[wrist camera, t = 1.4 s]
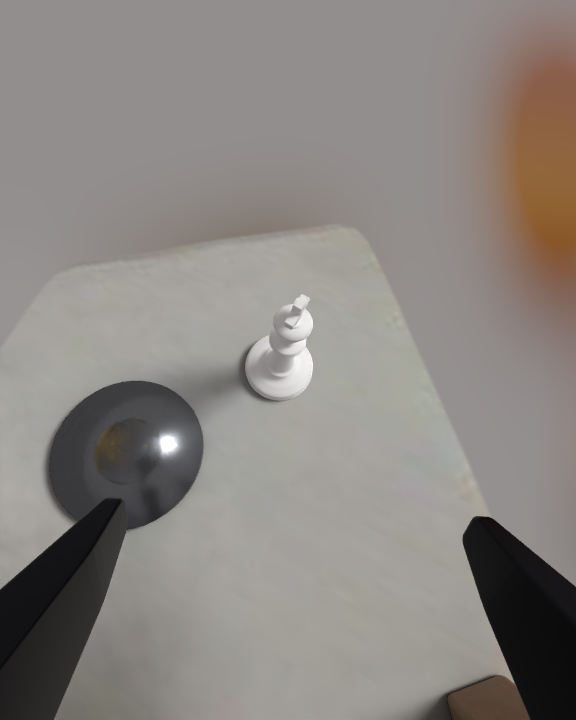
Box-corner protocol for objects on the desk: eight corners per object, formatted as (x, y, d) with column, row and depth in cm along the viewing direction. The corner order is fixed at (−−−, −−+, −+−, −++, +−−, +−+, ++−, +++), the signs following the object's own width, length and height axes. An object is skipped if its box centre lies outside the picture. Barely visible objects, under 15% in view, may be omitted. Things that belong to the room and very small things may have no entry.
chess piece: (232, 379, 23) (221, 319, 14) (266, 324, 25) (278, 238, 15) (292, 413, 23) (323, 377, 13) (323, 356, 25) (370, 288, 15)
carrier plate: (204, 518, 20) (203, 520, 20) (46, 538, 19) (40, 540, 18) (202, 378, 23) (201, 376, 22) (63, 387, 22) (58, 385, 21)
